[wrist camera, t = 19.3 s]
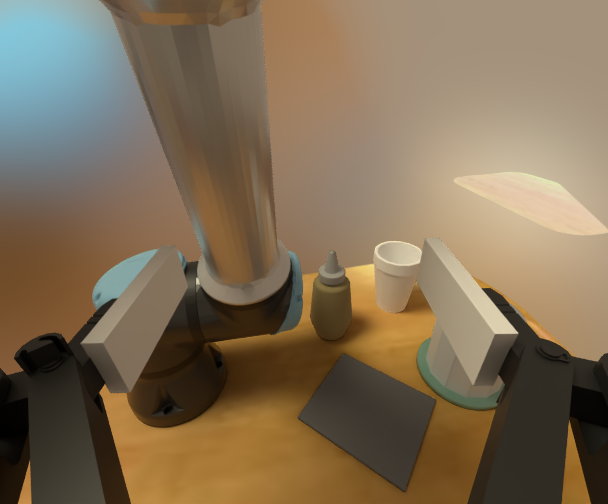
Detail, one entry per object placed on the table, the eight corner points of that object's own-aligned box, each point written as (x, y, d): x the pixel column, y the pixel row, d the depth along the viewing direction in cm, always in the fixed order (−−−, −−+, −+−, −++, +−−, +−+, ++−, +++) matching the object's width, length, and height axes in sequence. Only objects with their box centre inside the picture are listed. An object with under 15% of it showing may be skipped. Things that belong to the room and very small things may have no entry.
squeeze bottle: (359, 337, 57) (366, 258, 48) (321, 351, 54) (320, 270, 45) (339, 311, 63) (341, 237, 54) (304, 322, 61) (300, 246, 52)
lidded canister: (418, 374, 48) (435, 310, 41) (436, 332, 56) (453, 271, 49) (495, 411, 43) (530, 344, 36) (503, 359, 50) (534, 295, 43)
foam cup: (417, 297, 66) (428, 247, 60) (407, 324, 60) (418, 270, 53) (376, 285, 70) (382, 237, 64) (362, 308, 64) (367, 257, 57)
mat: (297, 418, 44) (297, 416, 44) (343, 354, 54) (343, 353, 53) (404, 492, 36) (405, 490, 36) (435, 401, 45) (435, 399, 45)
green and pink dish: (405, 380, 49) (409, 361, 46) (429, 328, 58) (433, 310, 56) (504, 429, 42) (515, 410, 39) (512, 360, 51) (521, 341, 49)
